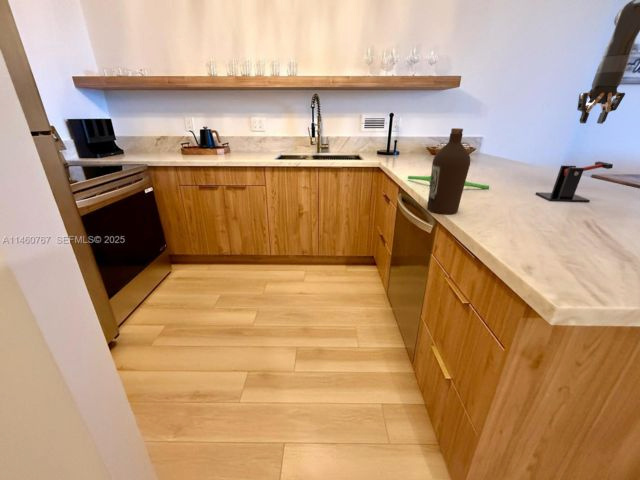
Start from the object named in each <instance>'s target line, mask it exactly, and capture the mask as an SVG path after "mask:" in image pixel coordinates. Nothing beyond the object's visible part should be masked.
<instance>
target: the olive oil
mask: <svg viewBox="0 0 640 480" xmlns="http://www.w3.org/2000/svg"><path fill="white" fill-rule="evenodd" d="M463 132H464V128H458V127H457V128H455V127H454V128H451V132H450V133H449V140H448V142H447V143H446V144H445V145H444V146H443V147H441V148H440V149H439V150H438V151H437V152H436V153H435V154H434V157H433V159H432V163H431V173H430V176H431V181H430V183H429V189H428V198H427V205H426V206H427V207H426V208H427V210H428V211H429V212H432V213H435V214H439V215H455V214H457V213H458V212H459V207H460V204H461V199H462V196H463V192H464V189H465V186H464V185H465V181H467V177H468V174H469V170H470V167H471V156H470V153H469V152H468V150H467V149H466V147H465V146H464V145H463V143H462V139H463V135H464V134H463Z"/></svg>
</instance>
